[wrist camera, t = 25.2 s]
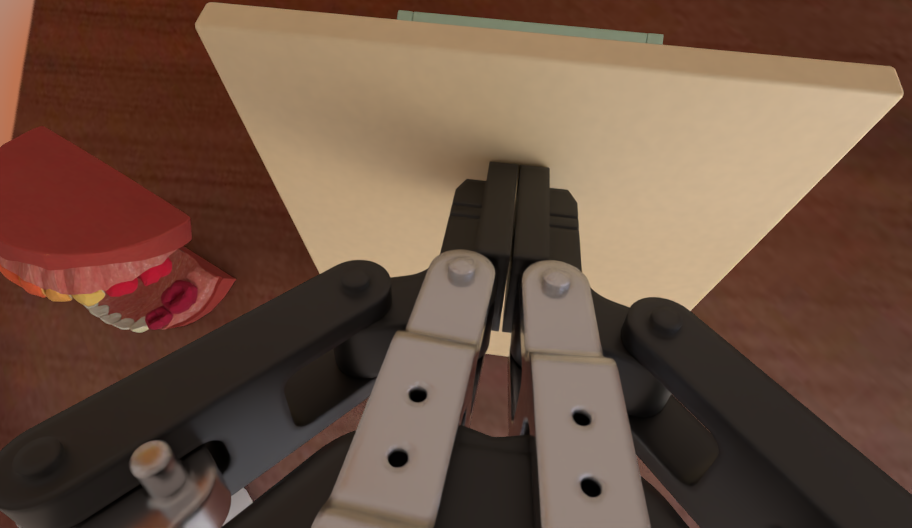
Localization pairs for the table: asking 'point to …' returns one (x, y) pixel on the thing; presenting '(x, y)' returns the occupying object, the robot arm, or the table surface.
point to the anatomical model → (98, 238)
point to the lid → (536, 137)
